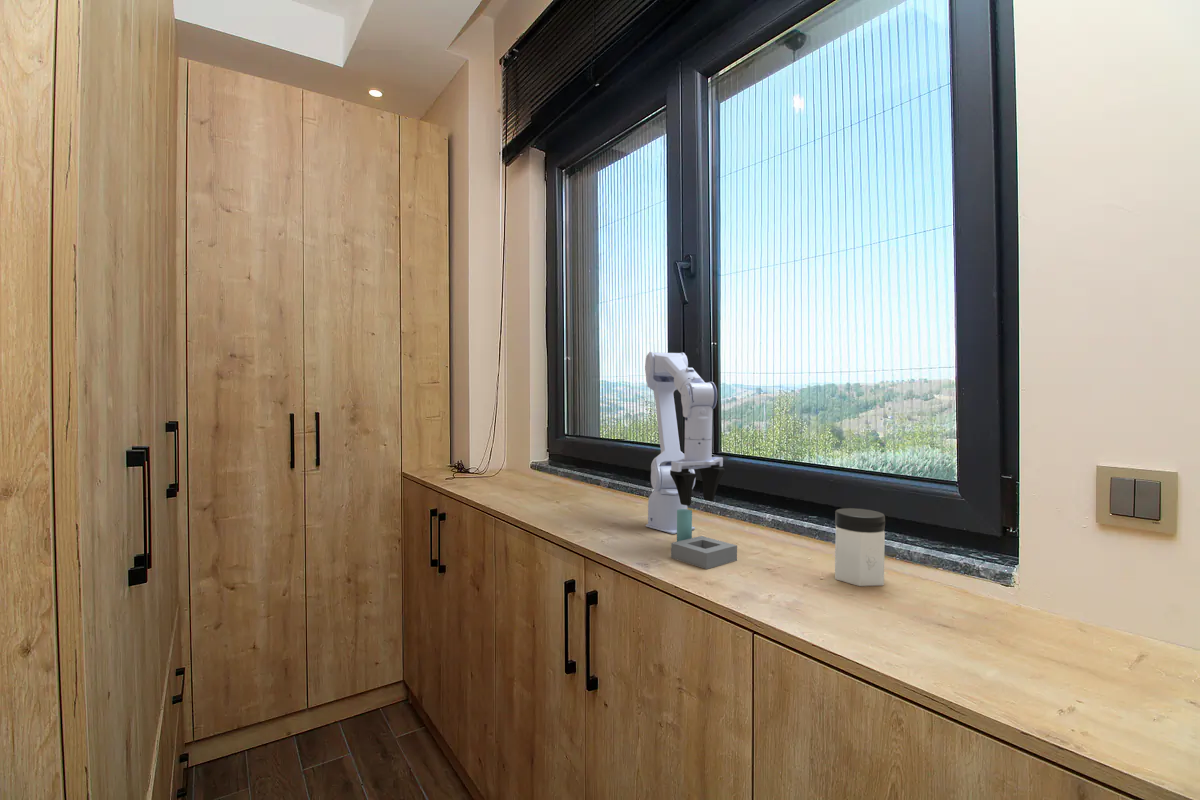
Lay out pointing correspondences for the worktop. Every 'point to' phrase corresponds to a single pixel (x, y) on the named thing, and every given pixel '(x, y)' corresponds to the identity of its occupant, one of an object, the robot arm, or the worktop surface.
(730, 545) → the socket block
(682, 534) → the peg
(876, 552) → the jar
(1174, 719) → the worktop surface
